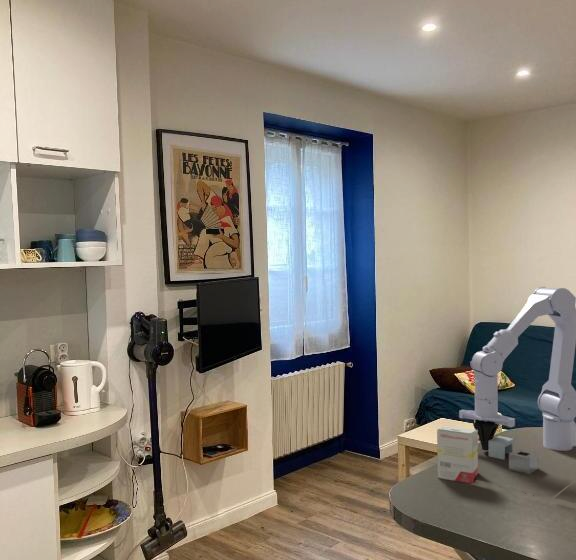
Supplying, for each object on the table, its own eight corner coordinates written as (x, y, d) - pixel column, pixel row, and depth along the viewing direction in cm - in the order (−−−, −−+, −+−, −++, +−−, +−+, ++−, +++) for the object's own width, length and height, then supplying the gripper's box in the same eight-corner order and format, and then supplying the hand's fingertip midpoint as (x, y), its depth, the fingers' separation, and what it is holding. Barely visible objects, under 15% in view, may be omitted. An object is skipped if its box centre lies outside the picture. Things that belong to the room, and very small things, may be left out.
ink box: (479, 478, 144) (478, 428, 144) (473, 484, 140) (472, 433, 140) (443, 471, 149) (443, 423, 149) (436, 478, 145) (436, 428, 145)
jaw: (517, 465, 150) (517, 449, 150) (538, 469, 146) (538, 453, 146) (508, 470, 146) (508, 454, 146) (529, 475, 143) (529, 458, 143)
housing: (498, 450, 160) (498, 435, 160) (513, 454, 158) (513, 438, 158) (488, 456, 156) (488, 440, 156) (503, 459, 153) (503, 443, 153)
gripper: (453, 396, 161) (453, 447, 162) (506, 404, 151) (506, 458, 152) (466, 392, 167) (466, 441, 167) (518, 399, 156) (518, 452, 157)
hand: (486, 449), depth 160 cm, fingers closed
